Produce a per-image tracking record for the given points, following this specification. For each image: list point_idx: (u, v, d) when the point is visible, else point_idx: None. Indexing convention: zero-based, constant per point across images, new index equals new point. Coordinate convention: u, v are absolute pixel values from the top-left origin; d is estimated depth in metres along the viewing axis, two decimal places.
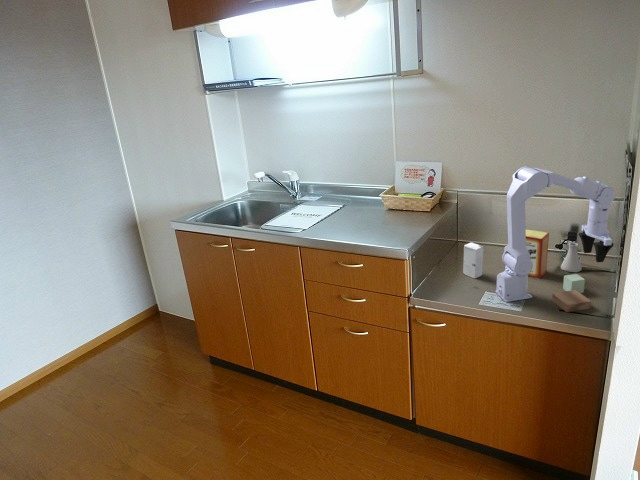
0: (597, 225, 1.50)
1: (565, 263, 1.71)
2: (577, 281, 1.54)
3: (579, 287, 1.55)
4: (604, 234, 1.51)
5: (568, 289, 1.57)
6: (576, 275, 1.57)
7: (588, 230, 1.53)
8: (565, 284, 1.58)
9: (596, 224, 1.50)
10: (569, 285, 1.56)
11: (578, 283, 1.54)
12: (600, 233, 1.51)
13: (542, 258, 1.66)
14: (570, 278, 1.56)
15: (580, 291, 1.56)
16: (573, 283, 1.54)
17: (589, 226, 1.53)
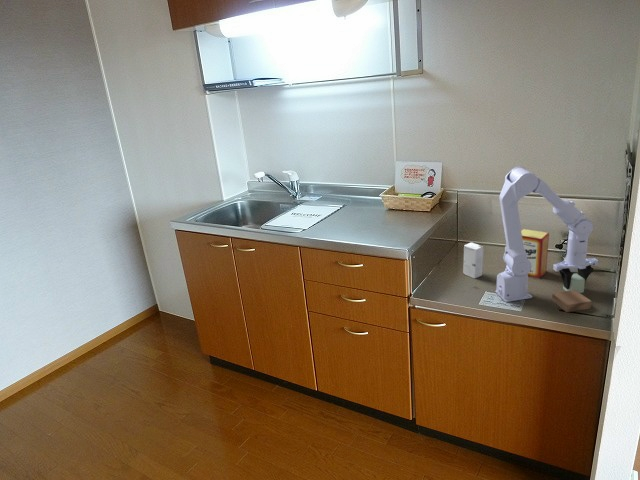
0: (567, 252, 1.54)
1: None
2: (577, 280, 1.54)
3: (580, 286, 1.55)
4: (570, 264, 1.53)
5: (568, 289, 1.57)
6: (576, 275, 1.57)
7: None
8: None
9: (567, 251, 1.54)
10: None
11: (578, 283, 1.54)
12: (567, 261, 1.54)
13: (542, 258, 1.66)
14: None
15: (580, 291, 1.56)
16: (573, 282, 1.54)
17: None
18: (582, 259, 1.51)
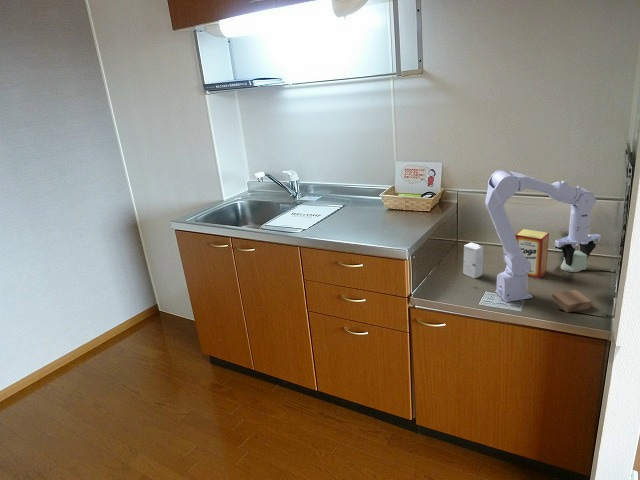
0: (569, 228, 1.50)
1: None
2: (579, 257, 1.50)
3: (582, 263, 1.51)
4: (572, 240, 1.49)
5: (570, 266, 1.53)
6: (578, 251, 1.54)
7: None
8: None
9: (569, 226, 1.50)
10: None
11: (580, 259, 1.51)
12: (569, 237, 1.50)
13: (542, 258, 1.66)
14: (573, 254, 1.52)
15: (582, 267, 1.52)
16: (576, 259, 1.50)
17: None
18: (584, 234, 1.47)
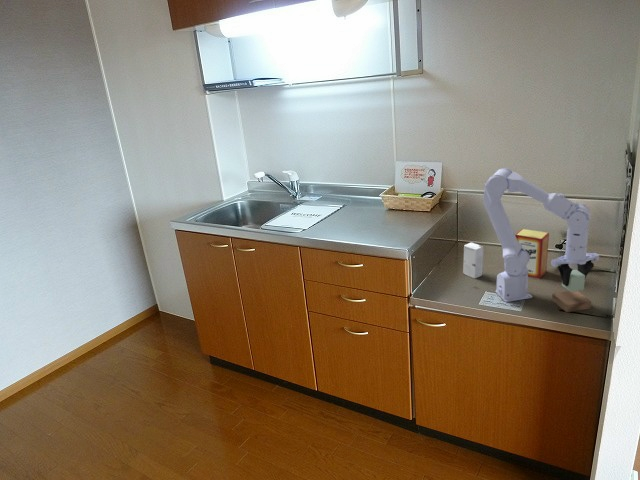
0: (566, 247, 1.44)
1: None
2: (576, 277, 1.44)
3: (579, 283, 1.45)
4: (569, 260, 1.43)
5: (567, 286, 1.47)
6: (576, 271, 1.47)
7: None
8: None
9: (566, 245, 1.44)
10: None
11: (577, 279, 1.44)
12: (566, 256, 1.44)
13: (542, 258, 1.66)
14: (570, 274, 1.46)
15: (580, 288, 1.46)
16: (573, 279, 1.44)
17: None
18: (582, 254, 1.40)
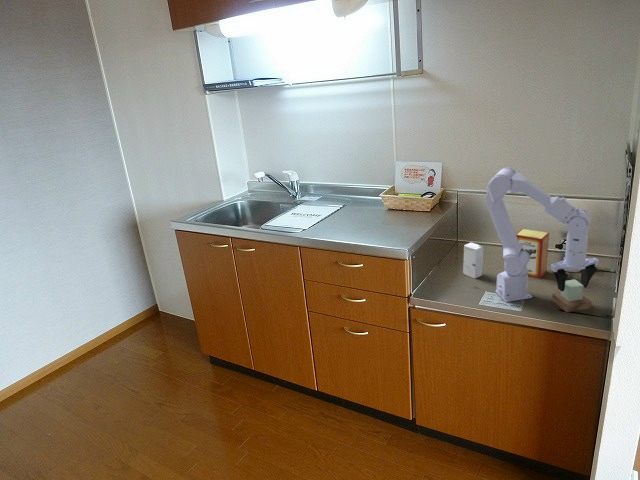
0: (565, 251, 1.44)
1: None
2: (575, 287, 1.45)
3: (578, 293, 1.46)
4: (568, 264, 1.43)
5: (565, 295, 1.48)
6: (574, 281, 1.49)
7: None
8: None
9: None
10: (567, 292, 1.47)
11: (576, 289, 1.46)
12: (565, 261, 1.44)
13: (542, 258, 1.66)
14: (568, 284, 1.47)
15: (578, 298, 1.47)
16: (571, 289, 1.46)
17: None
18: (581, 259, 1.41)
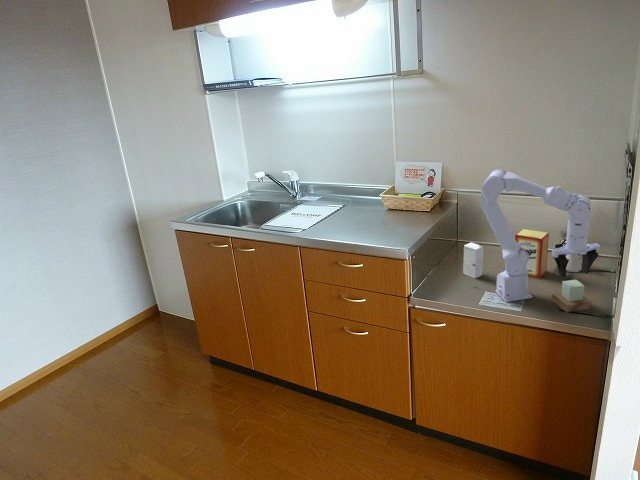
0: None
1: None
2: (575, 287, 1.45)
3: (578, 293, 1.46)
4: (570, 250, 1.43)
5: (566, 295, 1.48)
6: (575, 281, 1.48)
7: None
8: (563, 290, 1.49)
9: None
10: (567, 291, 1.47)
11: (576, 290, 1.46)
12: (567, 246, 1.44)
13: (542, 258, 1.66)
14: (569, 284, 1.47)
15: (579, 298, 1.47)
16: (571, 289, 1.46)
17: None
18: (582, 244, 1.40)
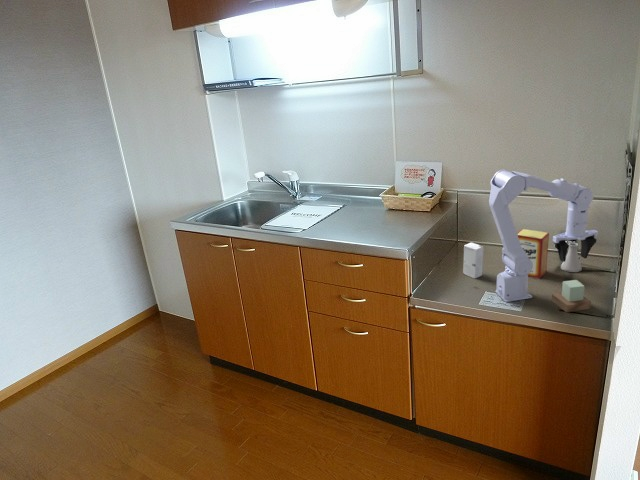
0: None
1: (565, 263, 1.71)
2: (575, 287, 1.45)
3: (579, 294, 1.46)
4: (569, 236, 1.52)
5: (566, 296, 1.48)
6: (576, 281, 1.48)
7: None
8: (563, 290, 1.49)
9: None
10: (567, 292, 1.47)
11: (576, 290, 1.46)
12: (567, 233, 1.53)
13: (542, 258, 1.66)
14: (569, 284, 1.47)
15: (579, 298, 1.47)
16: (572, 289, 1.45)
17: None
18: (581, 230, 1.50)
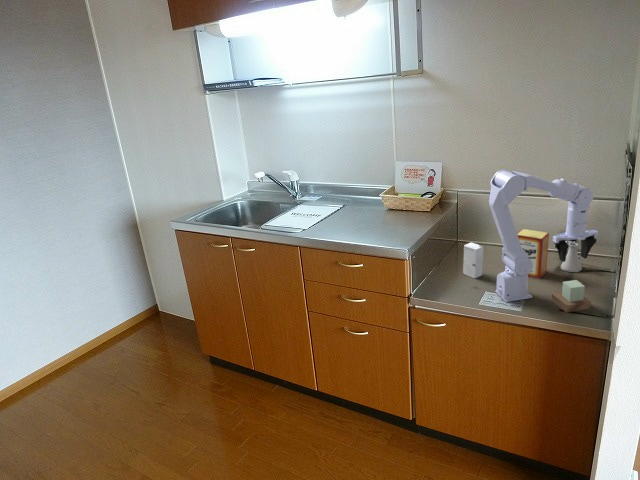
0: None
1: (565, 263, 1.71)
2: (576, 287, 1.45)
3: (579, 294, 1.46)
4: (569, 236, 1.52)
5: (566, 296, 1.48)
6: (576, 281, 1.48)
7: None
8: (564, 290, 1.49)
9: None
10: (568, 292, 1.47)
11: (577, 290, 1.45)
12: (567, 233, 1.53)
13: (542, 258, 1.66)
14: (569, 284, 1.47)
15: (579, 298, 1.47)
16: (572, 289, 1.45)
17: None
18: (581, 230, 1.50)
